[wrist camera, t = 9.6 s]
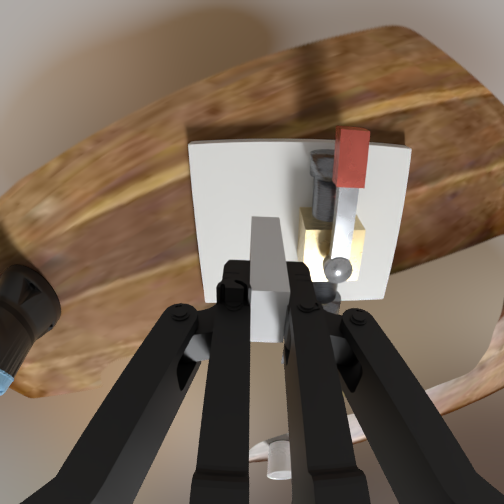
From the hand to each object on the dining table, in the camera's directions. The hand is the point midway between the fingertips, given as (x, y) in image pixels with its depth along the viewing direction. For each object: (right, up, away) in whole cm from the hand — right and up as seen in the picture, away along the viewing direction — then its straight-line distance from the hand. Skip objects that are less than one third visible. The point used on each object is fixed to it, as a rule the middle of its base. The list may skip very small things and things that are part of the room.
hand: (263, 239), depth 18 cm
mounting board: (+6, +3, +26) cm, 27 cm away
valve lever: (+9, +4, +15) cm, 17 cm away
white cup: (+7, -54, +61) cm, 82 cm away
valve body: (+9, +2, +25) cm, 26 cm away
